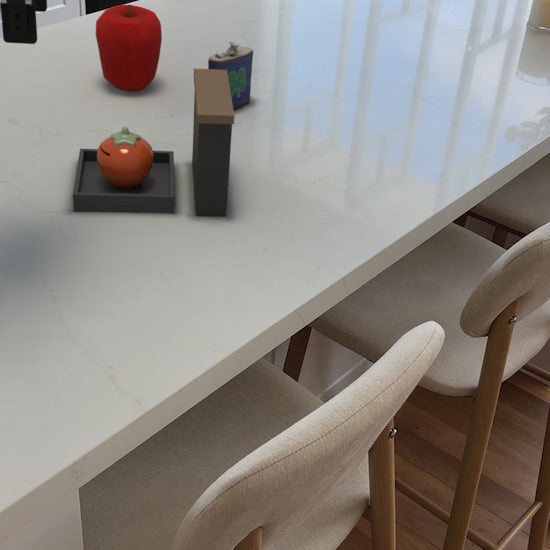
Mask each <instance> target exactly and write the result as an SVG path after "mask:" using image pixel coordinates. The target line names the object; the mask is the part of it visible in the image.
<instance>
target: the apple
mask: <svg viewBox="0 0 550 550" xmlns="http://www.w3.org/2000/svg"><path fill="white" fill-rule="evenodd" d="M95 39H96V43H97V49H98V55H99V61H100V65H101V70H102V76H103V78H104V79H105V80H106V81H107V82H108V83H109V84H111V85H112V86H113V87H114V88H116V89H117V90H120V91H125V92H133V93H134V92H135V93H136V92H141V91H143V90H146V88H147V87H148V86H149V85H150V84H151V83H152V82H153V80H154V79H155V78H156V74H157V70H158V65H159V62H160V61H159V60H160V57H161V56H160V55H161V50H162V49H161V47H162V41H163V35H162V24H161V21H160V19H159V17H158V15H157V14H156V12H154V11H153V10H151V9H148V8H146V7H142V6H138V5H134V4H130V3H128V4H118V5H114V6H110V7H109V8H107V9H105V10H104V11H103V12H102V13H101V14H100V15H99V17H98V18H97V19H96V21H95Z"/></svg>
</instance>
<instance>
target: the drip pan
mask: <svg viewBox="0 0 550 550" xmlns="http://www.w3.org/2000/svg"><path fill="white" fill-rule="evenodd" d="M97 150H98V148H80V149H79V153H78V160H77V166H76V172H75V176H74V177H75V179H74V184H73V189H72V205H73V206H72V208H73V212H105V213H106V212H107V213H108V212H109V213H110V212H111V213H112V212H113V213H114V212H115V213H160V214H161V213H167V214H174V213H175V210H176V209H175V208H176V207H175V206H176V205H175V203H176V202H175V201H176V193H175V191H176V190H175V189H176V188H175V158H174V157H175V156H174V155H175V154H174V153H175V152H174V151H173V150H153V153H154V161H153V165H152V168H151V171H150V173H149V175H148V176H147V178H146V179H145V180H144V181H143V182H142V183H141V184H140V185H139V186H137V187H134V188H131V189H120V188H116V187H114V186H113V185H112V184H110V183H109V182H108V181H107V180H106V179H105V177H104V176H103V175H102V173H101V171H100V169H99V166H98V161H97Z"/></svg>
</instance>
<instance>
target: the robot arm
mask: <svg viewBox="0 0 550 550" xmlns="http://www.w3.org/2000/svg"><path fill="white" fill-rule="evenodd" d="M47 10H48V0H0V14H1V16H0V17H1V27H2V28H1V29H2V40H3V41H4V42H5V43H8V44H25V45H26V44H27V45H34V44H36V43H37V42H38V27H37V26H38V25H37V12H39V13H45V12H46V11H47Z"/></svg>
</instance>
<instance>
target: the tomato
mask: <svg viewBox="0 0 550 550" xmlns="http://www.w3.org/2000/svg"><path fill="white" fill-rule="evenodd" d="M129 130H130V129H129V128H128V127H127V126H123V127H122V128H121V131H119V132H115V133H111V134H110V135H109V137H108V136H107V137H106V138H105V139H104V140H103V141H102V142H100V144H99V146H98V148H97V149H98V150H97V161H98V166H99V169H100V171H101V173H102V175H103V176H104V177H105V179H106V180H107V181H108V182H109V183H110V184H112V185H113V186H114V187H116V188H120V189H131V188H134V187H137V186H139V185H140V184H141V183H142V182H143V181H144V180H145V179H146V178H147V176H148V175H149V173H150V171H151V168H152V165H153V161H154V153H153V151H154V150H153V147H152V145H151V144H150V143H149V142H148V141H147V140H145V139H144V138H143V137H142V136H141V135H139V134H138V133H135V132H132V131H129Z"/></svg>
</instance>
